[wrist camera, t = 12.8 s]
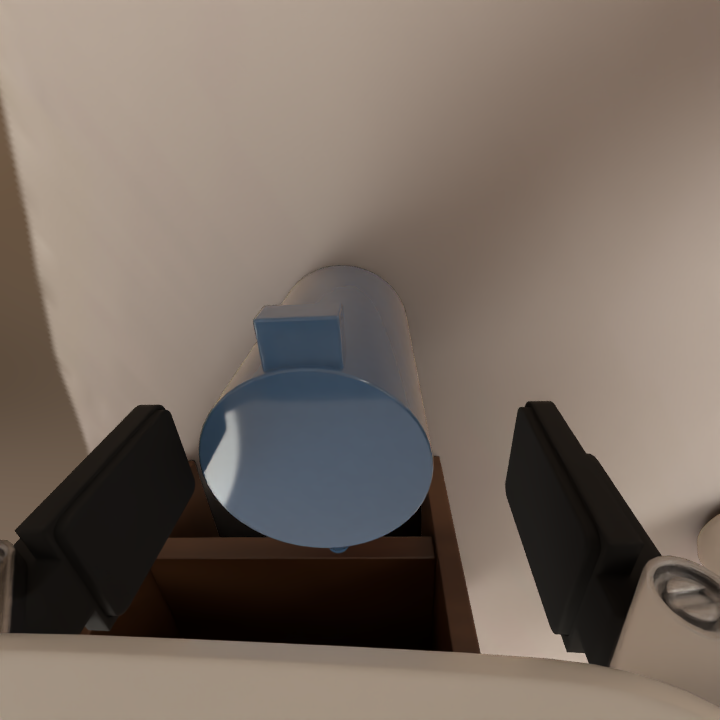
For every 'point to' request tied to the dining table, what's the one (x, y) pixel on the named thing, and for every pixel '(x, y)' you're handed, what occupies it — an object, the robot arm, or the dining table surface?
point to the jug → (323, 418)
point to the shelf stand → (307, 587)
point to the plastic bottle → (710, 545)
